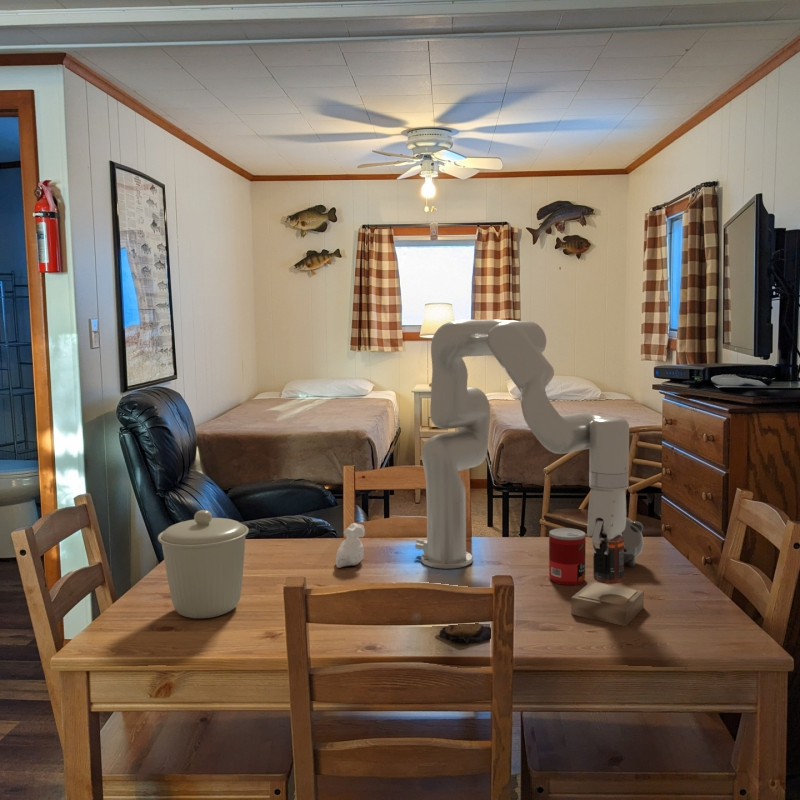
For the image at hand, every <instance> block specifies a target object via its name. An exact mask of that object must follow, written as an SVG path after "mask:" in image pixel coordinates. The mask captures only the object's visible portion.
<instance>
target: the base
mask: <svg viewBox="0 0 800 800" xmlns="http://www.w3.org/2000/svg"><path fill="white" fill-rule="evenodd" d="M644 592H645V590H641V589H640V590H639V589H634V588H629V587H625V586H618V585H615V584H605V583H601V582H597V581H593V580H592V581H591V580H590V582H588V583H587V584H586V585H585V586H583V587H582V588H581V589H580V590H579V591H578V592H576V593H575V594H574V595H573V596H571V601H570V602H571V607H570V608H571V609H570V610H571V612H570V613H571V614H570V615H573V616H577V617H582V618H587V619H591V620H594V621H600V622H604V623H609V624H612V625H613V624H614V625H619V626H623V627H627V626H628V625H629V623H631V622H632V620H634V618H636V617H637V615H638V614H639V613H641V611H642V610H643V609H644V606H645V605H644V601H645V599H644V598H645V595H644Z"/></svg>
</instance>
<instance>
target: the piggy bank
mask: <svg viewBox="0 0 800 800" xmlns="http://www.w3.org/2000/svg"><path fill="white" fill-rule="evenodd" d="M643 530H644V525H643V523H641V522H640V521H637V520H634V521H633V520H632V519H630V518H629V517H627V516H626V527H625V530H624V531H623V534H622V537H623V539H624V563H626V564H627V566H628V567H635V566H636V558H637V557H638V556H639V555H640V554H641V553H642V551H643V547H644V537H643V534H642V532H643ZM638 558H639V557H638Z"/></svg>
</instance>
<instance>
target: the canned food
mask: <svg viewBox="0 0 800 800" xmlns="http://www.w3.org/2000/svg"><path fill="white" fill-rule="evenodd" d="M548 544H549V545H548V550H549V551H548V565H549V566H548V568H549V569H548V575H549V579H550V581H552V582H553V583H555V584H559V585H562V586H578V585H581V584H583V583H584V581H585V579H586V546H587V545H586V532H585V531H583V530H580V529H576V528H571V527H560V528H559V527H558V528H553V529H551V530H549V534H548Z"/></svg>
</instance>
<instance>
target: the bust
mask: <svg viewBox="0 0 800 800" xmlns="http://www.w3.org/2000/svg"><path fill="white" fill-rule="evenodd" d="M343 534H344V536H345V537H346V538H345V539H344V540H342V541H341V542H340V544H339V547H338V549H337V552H336V554H335V564H336V568H338V569H340V568H344V567H350V566H351V567H352V566H357V565H358V564H359V563H360V562H361V561H362V560H363V558H364V556H365V555H364V554H365V550H364V545H363V543H362V541H361V539H360V538H364V536H365V535H366V530H365V527H364V525H363V524H360V523H357V522H353V523H351V524H350V525H349V526H348V527H347V528H346V529H345V530H343Z"/></svg>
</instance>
